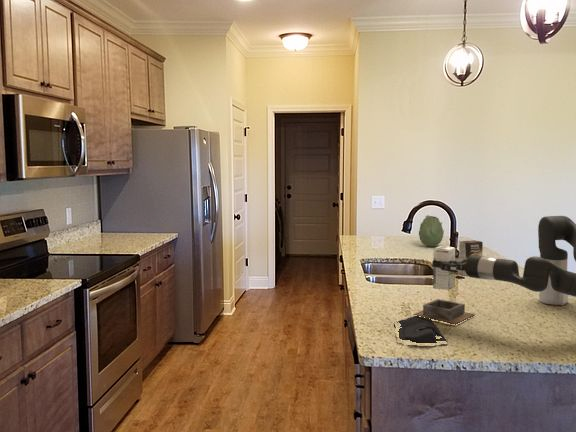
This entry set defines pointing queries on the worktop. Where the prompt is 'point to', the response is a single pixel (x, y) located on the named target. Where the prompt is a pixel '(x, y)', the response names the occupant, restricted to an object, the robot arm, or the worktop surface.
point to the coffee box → (469, 250)
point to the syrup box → (443, 277)
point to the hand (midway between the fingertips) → (437, 262)
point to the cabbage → (431, 231)
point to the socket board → (445, 311)
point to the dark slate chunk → (419, 330)
